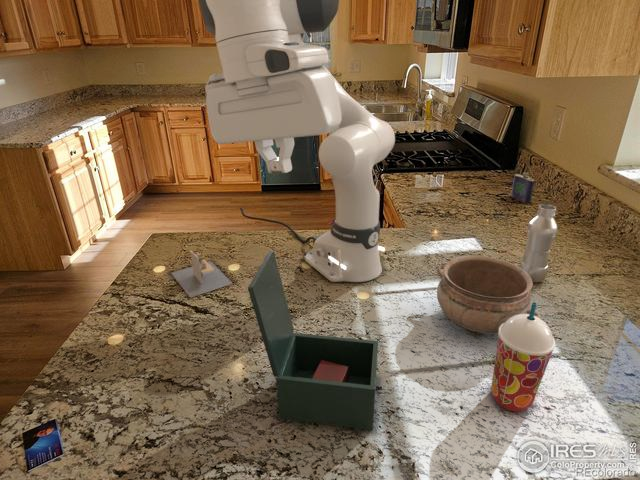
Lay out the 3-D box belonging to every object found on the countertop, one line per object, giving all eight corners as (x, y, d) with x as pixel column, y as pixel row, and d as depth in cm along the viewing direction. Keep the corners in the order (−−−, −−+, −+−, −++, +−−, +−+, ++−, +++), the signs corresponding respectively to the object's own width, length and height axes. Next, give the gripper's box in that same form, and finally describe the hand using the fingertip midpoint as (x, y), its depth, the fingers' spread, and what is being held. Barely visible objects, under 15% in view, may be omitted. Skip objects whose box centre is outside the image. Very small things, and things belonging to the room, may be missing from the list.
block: (311, 401, 73) (311, 379, 71) (321, 381, 77) (321, 359, 75) (339, 408, 72) (339, 386, 69) (348, 387, 76) (348, 366, 74)
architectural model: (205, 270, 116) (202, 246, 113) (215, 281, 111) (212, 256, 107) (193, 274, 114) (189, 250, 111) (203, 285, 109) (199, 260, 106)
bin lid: (273, 250, 70) (269, 250, 71) (252, 287, 60) (247, 287, 60) (294, 330, 77) (289, 330, 77) (278, 376, 67) (273, 376, 67)
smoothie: (494, 375, 79) (515, 283, 71) (542, 396, 75) (570, 300, 66) (478, 402, 74) (497, 306, 65) (528, 427, 69) (557, 327, 60)
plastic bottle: (548, 286, 107) (567, 213, 98) (519, 284, 108) (536, 211, 99) (541, 274, 112) (559, 203, 104) (514, 271, 114) (529, 201, 105)
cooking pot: (406, 310, 98) (410, 263, 93) (460, 285, 108) (467, 242, 103) (501, 373, 80) (513, 320, 74) (556, 336, 89) (570, 287, 84)
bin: (376, 378, 79) (378, 340, 75) (372, 430, 68) (375, 389, 65) (293, 369, 81) (292, 332, 77) (278, 418, 71) (275, 378, 67)
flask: (508, 196, 166) (513, 169, 162) (514, 195, 167) (520, 169, 162) (526, 204, 158) (532, 176, 154) (532, 203, 159) (539, 175, 155)
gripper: (185, 79, 56) (212, 179, 61) (306, 49, 45) (328, 177, 49) (220, 74, 61) (243, 168, 66) (338, 46, 49) (355, 163, 54)
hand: (280, 172), depth 58 cm, fingers closed
